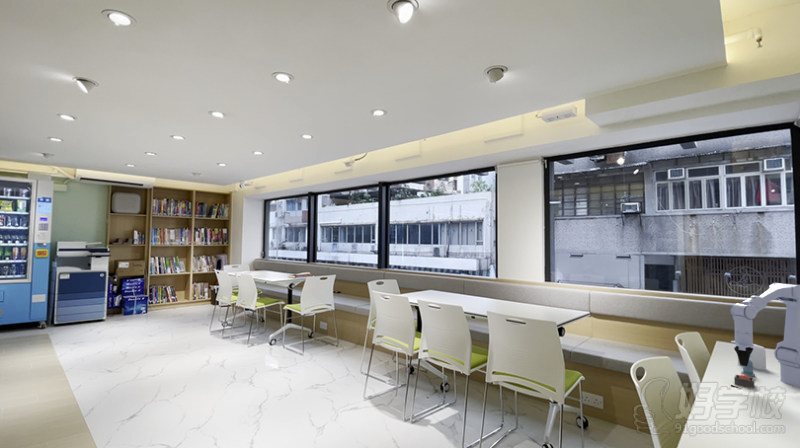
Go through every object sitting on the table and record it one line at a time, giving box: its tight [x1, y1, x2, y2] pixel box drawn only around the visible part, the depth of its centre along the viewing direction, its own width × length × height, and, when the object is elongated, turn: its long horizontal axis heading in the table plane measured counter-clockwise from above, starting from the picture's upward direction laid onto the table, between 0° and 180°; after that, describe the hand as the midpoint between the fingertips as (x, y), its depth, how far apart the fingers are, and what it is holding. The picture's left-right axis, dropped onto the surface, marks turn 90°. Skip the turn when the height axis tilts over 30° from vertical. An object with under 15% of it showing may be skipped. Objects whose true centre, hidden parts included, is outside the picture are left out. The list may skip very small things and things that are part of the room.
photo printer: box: [737, 343, 767, 371], centre depth 185 cm, size 10×4×12 cm, turn 39°
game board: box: [730, 372, 758, 390], centre depth 165 cm, size 26×8×4 cm, turn 133°
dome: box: [739, 374, 751, 381], centre depth 158 cm, size 4×4×4 cm
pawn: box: [740, 360, 756, 378], centre depth 171 cm, size 5×5×7 cm
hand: (744, 364), depth 159 cm, fingers open, 3 cm apart
